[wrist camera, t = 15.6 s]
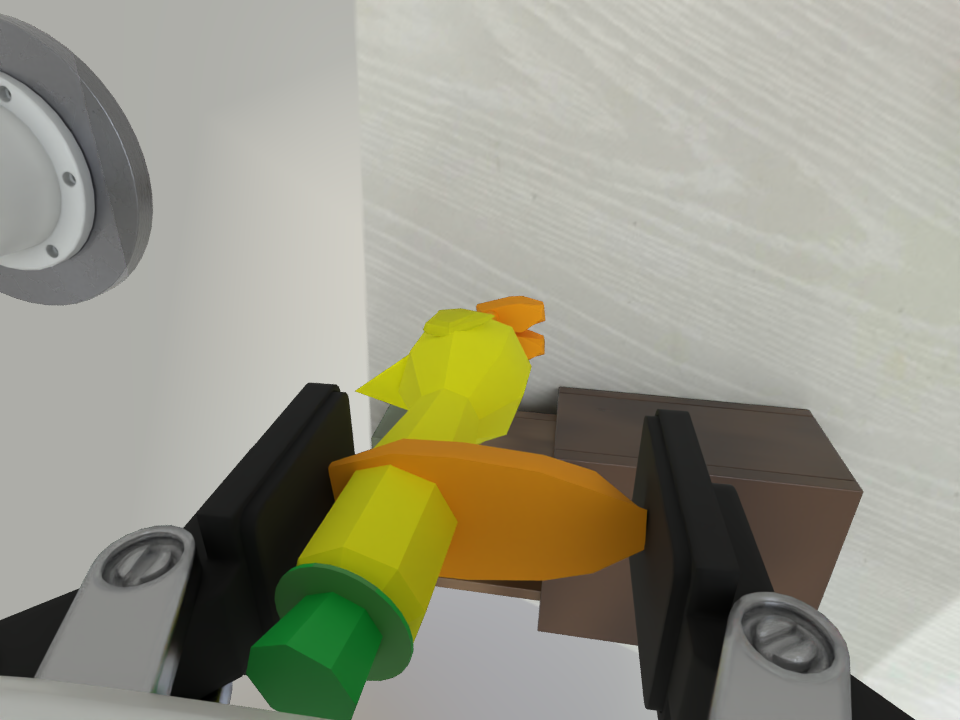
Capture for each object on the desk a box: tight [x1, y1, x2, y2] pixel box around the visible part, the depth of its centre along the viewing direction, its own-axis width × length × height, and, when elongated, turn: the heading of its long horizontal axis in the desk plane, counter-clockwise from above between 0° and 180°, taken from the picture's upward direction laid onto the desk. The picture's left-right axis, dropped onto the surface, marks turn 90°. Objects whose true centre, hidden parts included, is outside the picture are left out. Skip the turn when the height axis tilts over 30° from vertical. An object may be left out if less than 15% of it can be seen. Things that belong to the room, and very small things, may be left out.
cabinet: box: [538, 387, 863, 646], centre depth 35 cm, size 15×13×8 cm
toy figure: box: [246, 296, 647, 720], centre depth 12 cm, size 7×4×12 cm, turn 94°
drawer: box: [371, 404, 557, 601], centre depth 37 cm, size 18×11×6 cm, turn 89°
